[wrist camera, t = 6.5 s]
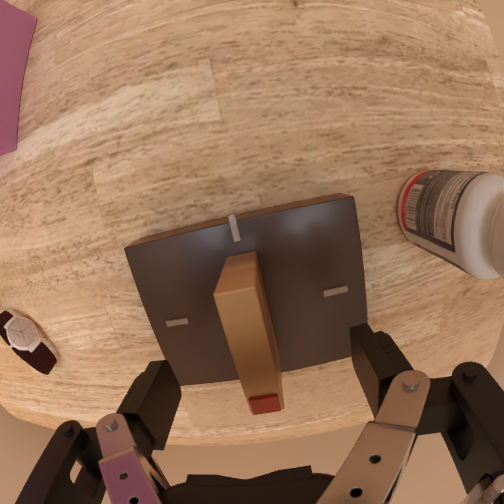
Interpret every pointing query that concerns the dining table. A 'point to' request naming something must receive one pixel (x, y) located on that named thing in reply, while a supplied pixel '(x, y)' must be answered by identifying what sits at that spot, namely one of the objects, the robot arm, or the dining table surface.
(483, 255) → the pill bottle
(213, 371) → the panel
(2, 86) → the teapot
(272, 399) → the handle
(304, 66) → the dining table surface
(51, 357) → the watch
